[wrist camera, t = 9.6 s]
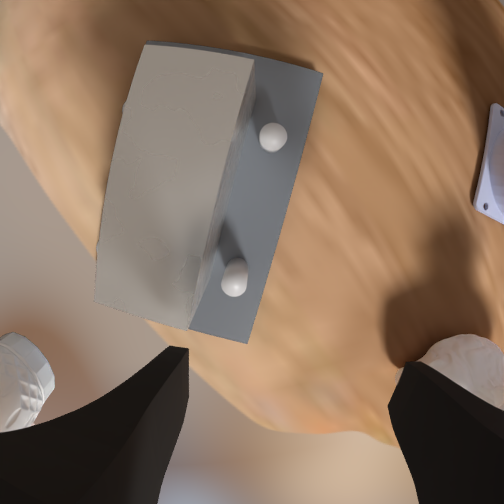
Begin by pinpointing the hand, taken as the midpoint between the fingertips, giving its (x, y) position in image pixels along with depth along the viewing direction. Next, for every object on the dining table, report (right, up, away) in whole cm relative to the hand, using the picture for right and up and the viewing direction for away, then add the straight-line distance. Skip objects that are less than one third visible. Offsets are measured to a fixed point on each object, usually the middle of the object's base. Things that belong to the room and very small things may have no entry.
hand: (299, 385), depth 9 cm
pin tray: (-5, +8, +8) cm, 12 cm away
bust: (+14, -4, +11) cm, 18 cm away
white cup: (-22, -6, +12) cm, 25 cm away
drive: (-4, +8, +7) cm, 11 cm away
